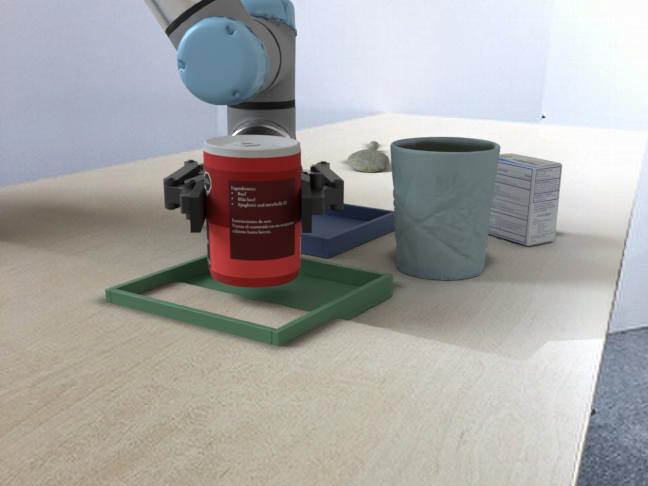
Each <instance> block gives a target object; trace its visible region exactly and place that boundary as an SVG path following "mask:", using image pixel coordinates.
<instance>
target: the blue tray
mask: <svg viewBox="0 0 648 486" xmlns="http://www.w3.org/2000/svg"><path fill="white" fill-rule="evenodd" d="M394 212H395V211H394V210H390V209H384V208H378V207H372V206H371V207H370V206H363V205H357V204H350V203H345V202H344V209H343V210H341V211H334V210H331V209H329V208H328V207H327V206H325V214H323V215H312V233H302V226H301V255H302V254H303V255H309V256H314V257H318V258H324V259H330V258H332V257H334V256H337V255H339V254H341V253H344V252H346V251H349V250H352V249H354V248H356V247H358V246H361V245H363V244H366V243H368V242H371V241H373V240H376V239H377V238H379V237H382V236H385V235H387V234H390V233H392V232H395V227H394V224H395V219H394Z"/></svg>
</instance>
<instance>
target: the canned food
mask: <svg viewBox="0 0 648 486" xmlns="http://www.w3.org/2000/svg"><path fill="white" fill-rule="evenodd" d="M202 156H203V160H202V161H203V162H202V163H203V165H204V185H205V209H206V219H205V233H206V252H207V253H206V255H207V256H208V267H209V270H210V273H211V276H212V277H213V278H214V279H215V280H217V281H218V282H221V283H223V284H227V285H231V286H237V287H246V288H264V287H273V286H279V285H283V284H286V283H289V282H291V281H293V280H294V279H296V277H297V276H298V273H299V270H300V267H301V257H302V253H301V165H302V147H301V142H300V141H299V140H297V139H296V140H294V139H291V138H286V137H279V136H269V135H230V136H228V135H222V136H214V137H211V138H208V139H206V140H204V141H203V149H202Z"/></svg>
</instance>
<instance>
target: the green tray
mask: <svg viewBox="0 0 648 486" xmlns="http://www.w3.org/2000/svg"><path fill="white" fill-rule="evenodd" d="M393 279H394V274H392V273H386V272H381V271H376V270H372V269H367V268H361V267H356V266H351V265H347V264H341V263H336V262H331V261H326V260H325V261H324V260H320V259H315V258H309V257H304V256H301V267H300V270H299V273H298V276H297V277H296V279H294V280H293V281H291V282H289V283H286V284H283V285H279V286H273V287H264V288H246V287H237V286H231V285H227V284H223V283H221V282H218V281H217V280H215V279H214V278H213V277H212V276H211V273H210V270H209V267H208V256H207V254H204V255H201V256H199V257H195V258H192V259H189V260H186V261H184V262H181V263H177V264H175V265H172V266H169V267H166V268H163V269H160V270H158V271H154V272H151V273H149V274H145V275H143V276H139V277H136V278H134V279H131V280H128V281H125V282H122V283H120V284H117V285H114V286H111V287H108V288H105V290H104V291H105V292H104V293H105V302H106V303H110V304H113V305H117V306H121V307H125V308H129V309H132V310H136V311H141V312H144V313H148V314H151V315H157V316H159V317H164V318H167V319H171V320H175V321H179V322H183V323H187V324H191V325H195V326H199V327H202V328H205V329H210V330H213V331H218V332H221V333H225V334H229V335H233V336H236V337H241V338H245V339H249V340H252V341H256V342H260V343H265V344H267V345H273V346H276V347H281V346H282V345H284V344H286V343H288V342H290V341H291V340H293V339H295V338H297V337H299V336H302V335H304V334H305V333H307V332H309V331H311V330H313V329H315V328H316V327H319V326H320V325H322V324H324V323H325V322H328V321H330V320H331V319H333V318H334V319H339V320H343V321H349V320H351V319H352V318H354V317H356V316H358V315H360V314H362V313H364V312H366V311H368V310H369V309H371V308H373V307H375V306H376V305H378V304H380V303H382V302H384V301H385V300H387V299H389V298H391V297H392V296H393V281H394V280H393ZM171 282H176V283H177V282H178V283H182V284H186V285H190V286H195V287H200V288H204V289H208V290H212V291H217V292H220V293H225V294H229V295H234V296H239V297H243V298H246V299H247V298H248V299H251V300H256V301H261V302H264V303H269V304H273V305H276V306H277V305H278V306H281V307H285V308H286V307H287V308H290V309H294V310H299V311H304V312H307V313H306V314H303V315H301V316H299V317H297V318H295V319H293V320H291V321H289V322H287V323H285V324H283V325H281V326H279V327H277V328H276V327H272V326H268V325H265V324H260V323H255V322H252V321H248V320H244V319H239V318H235V317H233V316H232V317H231V316H227V315H223V314H219V313H215V312H211V311H207V310H204V309H199V308H194V307H190V306H187V305H183V304H178V303H175V302H171V301H167V300H162V299H160V298H159V299H158V298H154V297H151V296H147V295H142V294H140V293H143V292H146V291H149V290H151V289H155V288H156V287H159V286H160V287H161V286H162V285H165V284H168V283H171Z"/></svg>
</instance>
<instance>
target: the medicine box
mask: <svg viewBox="0 0 648 486" xmlns="http://www.w3.org/2000/svg"><path fill="white" fill-rule="evenodd" d="M562 172H563V164H562V163H561V162H557V161H553V160H549V159H544V158H538V157H533V156H528V155H523V154H518V153H513V152H511V153H509V152H508V153H507V152H506V153H500V155H499V161H498V168H497V174H496V178H495V180H494V183H495V189H494V198H493V199H492V208H491V209H490V211H491V216H490V222H489V224H490V226H489V229H488V235H491V236H494V237H497V238H501V239H504V240H507V241H510V242H513V243H516V244H519V245H524V246H527V247H531V246H537V245H543V244H548V243H552V242H553V241H555V240H556V233H557V223H558V214H559V213H558V211H559V203H560V193H561V192H560V191H561V183H562V174H563V173H562Z"/></svg>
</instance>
